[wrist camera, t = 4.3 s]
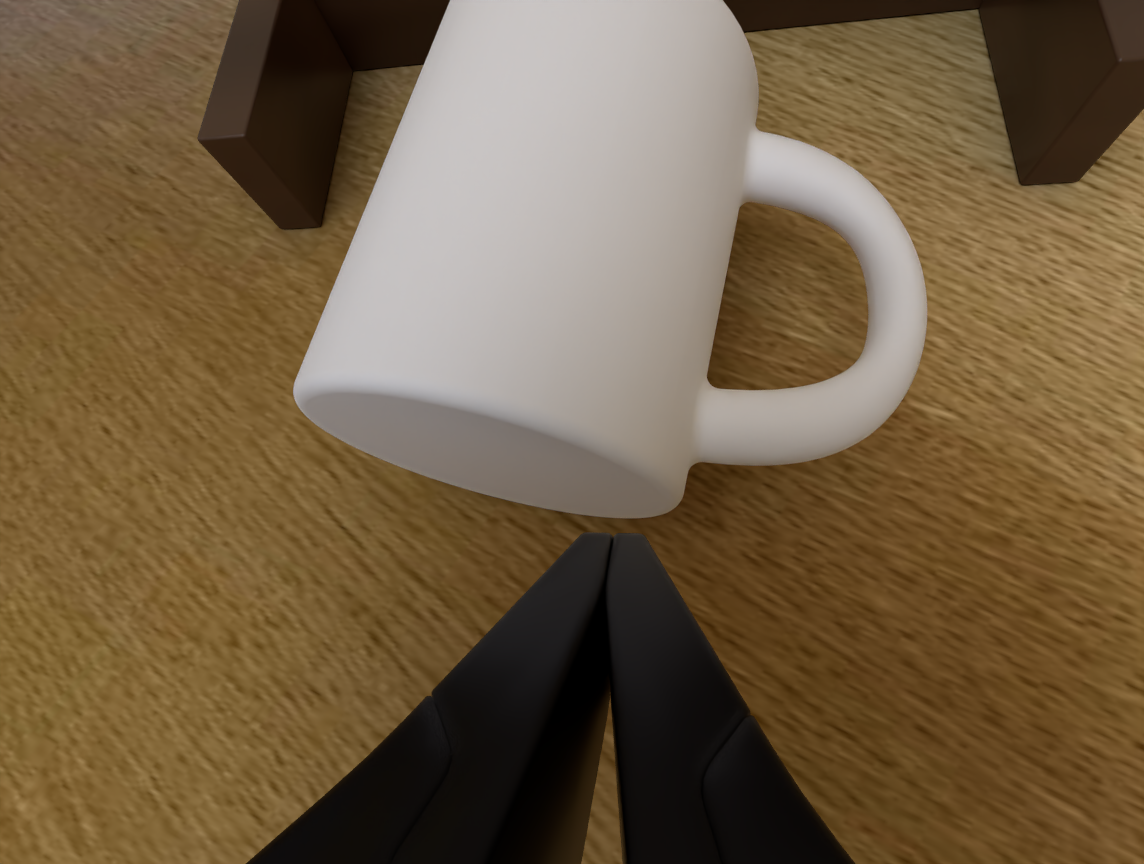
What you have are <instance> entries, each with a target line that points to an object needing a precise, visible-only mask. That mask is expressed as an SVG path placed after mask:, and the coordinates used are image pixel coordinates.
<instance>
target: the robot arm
mask: <svg viewBox="0 0 1144 864" xmlns="http://www.w3.org/2000/svg"><path fill="white" fill-rule="evenodd" d="M610 693H611V710H612V725H613V738H614V752H615V766H616V779H617V793H618V806H619V820H620V834H621V847H622V861H623V864H855V863H854V861H853V860H852V859H851V858H850V856H849V855H848V854H847V852H846V851H845V850H844V848H843V847H842V846H841V845H840V843H839V842H838V841H837V839H836V838H835V837H834V835H833V834H832V832H831V831H830V830H829V828H828V827H827V826H826V824H825V823H824V821H823V820H822V819H821V817H820V816H819V815H818V813H817V812H816V811H815V809H814V808H813V806H812V805H811V804H810V802H809V801H808V800H807V798H806V797H805V796H804V794H803V793H802V791H801V790H800V789H799V787H798V785H797V784H796V782H795V781H794V779H793V778H792V776H791V775H790V773H789V772H788V770H787V769H786V767H785V765H784V764H783V762H782V761H781V759H780V758H779V756H778V755H777V753H776V752H775V750H774V748H773V747H772V745H771V744H770V742H769V740H768V739H767V737H766V735H765V734H764V732H763V730H762V729H761V727H760V725H759V724H758V722H757V720H756V719H755V717H754V716H752V715H750V709H749V708H748V706H747V704H746V703H745V701H744V700H743V698H742V696H741V695H740V693H739V691H738V690H737V688H736V686H735V685H734V683H733V681H732V680H731V678H730V676H729V675H728V673H727V671H726V670H725V668H724V666H723V665H722V663H721V661H720V660H719V658H718V656H717V655H716V653H715V651H714V650H713V648H712V646H711V645H710V643H709V641H708V640H707V638H706V636H705V635H704V633H703V631H702V630H701V628H700V626H699V625H698V623H697V621H696V620H695V618H694V616H693V615H692V613H691V611H690V610H689V608H688V607H687V605H686V603H685V602H684V600H683V598H682V597H681V595H680V593H679V592H678V590H677V588H676V587H675V585H674V583H673V582H672V580H671V578H670V577H669V575H668V573H667V572H666V570H665V568H664V567H663V565H662V563H661V562H660V560H659V558H658V557H657V555H656V553H655V552H654V550H653V548H652V547H651V545H650V543H649V542H648V540H647V538H646V537H645V536H644V535H643V534H637V533H617V534H616V535H614V537H612V535H611V534H610V533H583V534H581V535H580V536H579V537H578V538H577V539H576V540H575V541H574V542H573V544H572V545H571V546H570V547H569V548H568V549H567V550H566V551H565V552H564V553H563V554H562V555H561V556H560V557H559V558H558V559H557V560H556V561H555V562H554V563H553V565H552V566H551V567H550V568H549V569H548V570H547V571H546V572H545V573H544V574H543V575H542V576H541V577H540V578H539V579H538V580H537V581H536V582H535V583H534V584H533V586H532V587H531V588H530V589H529V590H528V591H527V592H526V593H525V594H524V595H523V596H522V597H521V598H520V599H519V600H518V601H517V602H516V603H515V604H514V605H513V607H512V608H511V609H510V610H509V611H508V612H507V613H506V614H505V615H504V616H503V617H502V618H501V619H500V620H499V621H498V622H497V623H496V624H495V625H494V626H493V628H492V629H491V630H490V631H489V632H488V633H487V634H486V635H485V636H484V637H483V638H482V639H481V640H480V641H479V642H478V643H477V644H476V645H475V646H474V647H473V649H472V650H471V651H470V652H469V653H468V654H467V655H466V656H465V657H464V658H463V659H462V660H461V661H460V662H459V663H458V664H457V665H456V666H455V667H454V668H453V670H452V671H451V672H450V673H449V674H448V675H447V676H446V677H445V678H444V679H443V680H442V681H441V682H440V683H439V684H438V685H437V686H436V687H435V688H434V689H433V691H432V696H427V697H426V698H425V699H424V700H423V701H422V702H421V703H420V704H419V705H418V706H417V707H416V708H415V709H414V710H413V711H412V712H411V713H410V714H409V715H408V716H407V717H406V719H405V720H404V721H403V722H401V723H400V724H399V725H398V726H397V727H396V728H395V729H394V730H393V731H392V732H391V733H390V734H389V735H388V736H387V737H386V738H385V739H384V740H383V741H382V742H381V743H380V744H379V745H378V746H377V747H376V748H375V749H374V750H373V751H372V752H371V753H370V754H369V755H368V756H367V757H366V758H365V759H364V760H363V761H362V762H361V763H359V764H358V765H357V766H356V767H355V768H354V769H353V770H352V771H351V772H350V773H348V774H347V775H346V776H345V777H344V778H343V779H342V780H341V781H340V782H339V783H337V784H336V785H335V786H334V787H333V788H332V789H331V790H330V791H329V792H328V793H326V794H325V795H324V796H323V797H322V798H321V799H320V800H318V801H317V802H316V803H315V804H314V805H313V806H312V807H310V808H309V809H308V810H307V811H306V812H305V813H304V814H302V815H301V816H300V817H299V818H298V819H297V820H296V821H294V822H293V823H292V824H291V825H290V826H289V827H287V828H286V829H285V830H284V831H283V832H282V833H281V834H279V835H278V836H277V837H276V838H275V839H274V840H273V841H271V842H270V843H269V844H268V845H267V846H266V847H265V848H263V849H262V850H261V851H260V852H259V853H258V854H256V855H255V856H254V857H253V858H252V859H251V860H250V861H248V862H247V863H246V864H581V861H582V856H583V850H584V844H585V839H586V833H587V828H588V822H589V816H590V811H591V805H592V799H593V794H594V788H595V783H596V777H597V771H598V766H599V760H600V754H601V749H602V743H603V738H604V732H605V726H606V721H607V714H608V708H609V701H610Z"/></svg>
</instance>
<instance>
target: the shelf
mask: <svg viewBox="0 0 1144 864" xmlns="http://www.w3.org/2000/svg"><path fill="white" fill-rule="evenodd" d="M723 1H724V2H725V4H726V5H727V6H728V8H729V9H730V10H731V12H732V13H733V15H734V17H735V18H736V20H737V22H738V23H739V25H740V26H741V28H742V31H743V32H744V31H754V30H764V29H774V28H784V27H794V26H804V25H814V24H824V23H834V22H844V21H854V20H864V19H874V18H884V17H894V16H904V15H914V14H924V13H934V12H945V11H955V10H965V9H975V8H979V11H980V15H981V20H982V24H983V28H984V32H985V36H986V40H987V45H988V49H989V53H990V57H991V61H992V66H993V70H994V74H995V78H996V82H997V86H998V91H999V95H1000V99H1001V103H1002V107H1003V112H1004V116H1005V120H1006V124H1007V128H1008V132H1009V137H1010V141H1011V145H1012V149H1013V153H1014V158H1015V162H1016V166H1017V170H1018V174H1019V178H1020V183H1021V184H1022V185H1029V184H1046V183H1063V182H1076V181H1078V180H1080V178H1081V177H1082V176H1083V175H1084V174H1085V173H1086V172H1087V171H1088V170H1089V169H1090V167H1091V166H1092V165H1093V164H1094V163H1095V162H1096V161H1097V160H1098V159H1099V158H1100V156H1101V155H1102V154H1103V153H1104V152H1105V151H1106V150H1107V149H1108V148H1109V147H1110V145H1111V144H1112V143H1113V142H1114V141H1115V140H1116V139H1117V138H1118V137H1119V135H1120V134H1121V133H1122V132H1123V131H1124V130H1125V129H1126V128H1127V127H1128V126H1129V124H1130V123H1131V122H1132V121H1133V120H1134V119H1135V118H1136V117H1137V116H1138V115H1139V113H1140V112H1141V111H1142V110H1143V109H1144V0H723ZM449 2H450V0H239V3H238V6H237V9H236V12H235V16H234V19H233V22H232V26H231V29H230V32H229V36H228V39H227V42H226V45H225V49H224V52H223V55H222V59H221V62H220V65H219V69H218V72H217V75H216V79H215V82H214V85H213V88H212V92H211V95H210V98H209V102H208V105H207V108H206V112H205V115H204V118H203V122H202V125H201V128H200V131H199V135H198V141H199V142H200V143H201V144H202V145H203V146H204V147H205V149H206V150H207V151H208V152H209V153H210V154H211V155H212V156H213V157H214V158H215V159H216V160H217V161H218V162H219V164H220V165H221V166H222V167H223V168H224V169H225V170H226V171H227V172H228V173H229V174H230V175H231V176H232V177H233V179H234V180H235V181H236V182H237V183H238V184H239V185H240V186H241V187H242V188H243V189H244V190H245V191H246V192H247V194H248V195H249V196H250V197H251V198H252V199H253V200H254V201H255V202H256V203H257V204H258V205H259V206H260V208H261V209H262V210H263V211H264V212H265V213H266V214H267V215H268V216H269V217H270V218H271V219H272V220H273V221H274V223H275V224H276V225H277V226H278V227H279V228H280V229H293V228H310V227H320V225H321V221H322V216H323V211H324V206H325V201H326V197H327V192H328V187H329V182H330V177H331V173H332V168H333V163H334V158H335V153H336V149H337V144H338V139H339V134H340V129H341V125H342V120H343V115H344V110H345V106H346V101H347V96H348V91H349V86H350V82H351V77H352V71H354V70H364V69H374V68H384V67H394V66H404V65H414V64H424V63H425V61H426V58H427V56H428V53H429V51H430V48H431V46H432V43H433V41H434V38H435V36H436V34H437V31H438V29H439V26H440V24H441V21H442V19H443V16H444V14H445V11H446V9H447V6H448V4H449Z"/></svg>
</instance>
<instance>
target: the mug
mask: <svg viewBox="0 0 1144 864" xmlns="http://www.w3.org/2000/svg"><path fill="white" fill-rule="evenodd" d="M758 103H759V87H758V78H757V71H756V67H755V62H754V58H753V55H752V52H751V49H750V46H749V44H748V41H747V39H746V37H745V35H744V33H743V31H742V28H741V26H740V25H739V23H738V22H737V20H736V18H735V17H734V15H733V13H732V12H731V10H730V9H729V8H728V6H727V5H726V4H725V2H724V1H723V0H450V2H449V4H448V6H447V9H446V11H445V14H444V16H443V19H442V21H441V24H440V26H439V29H438V31H437V34H436V36H435V38H434V41H433V43H432V46H431V48H430V51H429V53H428V56H427V58H426V61H425V63H424V66H423V68H422V70H421V73H420V75H419V78H418V80H417V83H416V85H415V88H414V90H413V93H412V95H411V97H410V100H409V102H408V105H407V107H406V110H405V112H404V115H403V117H402V120H401V122H400V125H399V127H398V129H397V132H396V134H395V137H394V139H393V142H392V144H391V147H390V149H389V152H388V154H387V157H386V159H385V161H384V164H383V166H382V169H381V171H380V174H379V176H378V179H377V181H376V184H375V186H374V188H373V191H372V193H371V196H370V198H369V201H368V203H367V206H366V208H365V211H364V213H363V216H362V218H361V220H360V223H359V225H358V228H357V230H356V233H355V235H354V238H353V240H352V243H351V245H350V247H349V250H348V252H347V255H346V257H345V260H344V262H343V265H342V267H341V270H340V272H339V275H338V277H337V279H336V282H335V284H334V287H333V289H332V292H331V294H330V297H329V299H328V302H327V304H326V307H325V309H324V311H323V314H322V316H321V319H320V321H319V324H318V326H317V329H316V331H315V334H314V336H313V338H312V341H311V343H310V346H309V348H308V351H307V353H306V356H305V358H304V361H303V363H302V366H301V368H300V370H299V373H298V375H297V378H296V380H295V383H294V388H293V394H294V398H295V402H296V403H297V405H298V407H299V409H300V410H301V411H302V412H303V413H304V414H305V416H307V417H308V418H309V419H310V420H311V421H312V422H313V423H315V424H316V425H317V426H319V427H320V428H322V429H323V430H325V431H326V432H328V433H329V434H331V435H333V436H334V437H336V438H338V439H340V440H342V441H343V442H345V443H347V444H349V445H351V446H353V447H355V448H357V449H359V450H361V451H363V452H366V453H368V454H370V455H372V456H375V457H377V458H379V459H382V460H384V461H386V462H389V463H391V464H394V465H396V466H399V467H402V468H404V469H407V470H410V471H412V472H415V473H418V474H421V475H423V476H426V477H429V478H432V479H435V480H438V481H441V482H444V483H448V484H451V485H454V486H457V487H461V488H464V489H467V490H471V491H474V492H478V493H481V494H485V495H489V496H493V497H496V498H500V499H504V500H508V501H513V502H517V503H521V504H526V505H530V506H535V507H540V508H545V509H550V510H555V511H561V512H567V513H573V514H580V515H588V516H596V517H607V518H648V517H654V516H659V515H662V514H665V513H667V512H670V511H671V510H673V509H674V508H675V507H677V506H678V504H679V503H680V502H681V500H682V498H683V495H684V490H685V485H686V480H687V475H688V471H689V469H690V467H691V466H692V465H694V464H696V463H698V462H708V463H717V464H729V465H749V466H769V465H784V464H793V463H800V462H806V461H811V460H815V459H819V458H823V457H826V456H829V455H832V454H835V453H838V452H840V451H842V450H845V449H847V448H849V447H851V446H853V445H855V444H856V443H858V442H860V441H862V440H863V439H865V438H866V437H867V436H869V435H870V434H872V433H873V432H874V431H875V430H876V429H878V428H879V427H880V426H881V425H882V424H883V423H884V422H885V421H886V420H887V419H888V418H889V417H890V416H891V414H892V413H893V412H894V411H895V409H896V408H897V407H898V405H899V404H900V402H901V401H902V399H903V398H904V396H905V395H906V393H907V391H908V389H909V387H910V385H911V383H912V381H913V379H914V376H915V374H916V372H917V369H918V366H919V363H920V359H921V355H922V352H923V348H924V342H925V336H926V327H927V297H926V288H925V282H924V276H923V272H922V268H921V264H920V261H919V258H918V255H917V252H916V250H915V247H914V245H913V243H912V240H911V238H910V236H909V234H908V232H907V230H906V229H905V227H904V225H903V223H902V222H901V220H900V218H899V217H898V215H897V214H896V212H895V211H894V209H893V208H892V207H891V205H890V204H889V203H888V201H887V200H886V199H885V198H884V196H883V195H882V194H881V193H880V192H879V191H878V190H877V189H876V188H875V187H874V186H873V185H872V184H871V183H870V182H869V181H868V180H867V179H866V178H865V177H864V176H862V175H861V174H860V173H859V172H857V171H856V170H855V169H854V168H852V167H851V166H849V165H848V164H846V163H845V162H843V161H842V160H840V159H838V158H836V157H835V156H833V155H831V154H829V153H827V152H825V151H823V150H821V149H819V148H816V147H814V146H811V145H809V144H806V143H804V142H801V141H797V140H794V139H790V138H787V137H784V136H780V135H775V134H770V133H766V132H762V131H760V130H758V129H757V128H756V126H755V124H756V118H757V112H758ZM747 202H754V203H760V204H765V205H770V206H775V207H779V208H783V209H787V210H790V211H794V212H797V213H800V214H803V215H806V216H808V217H811V218H813V219H816V220H818V221H820V222H822V223H823V224H825V225H827V226H829V227H830V228H832V229H833V230H835V231H836V232H837V233H838V234H840V235H841V236H842V237H843V238H844V239H845V240H846V242H847V243H848V244H849V245H850V247H851V248H852V249H853V251H854V253H855V254H856V256H857V258H858V261H859V263H860V265H861V268H862V271H863V275H864V279H865V284H866V290H867V298H868V330H867V337H866V342H865V346H864V349H863V352H862V354H861V356H860V357H859V359H858V360H857V361H856V363H855V364H854V365H852V366H851V367H850V368H849V369H847V370H846V371H844V372H843V373H841V374H839V375H837V376H835V377H833V378H830V379H828V380H825V381H822V382H819V383H815V384H811V385H806V386H802V387H796V388H787V389H777V390H731V389H719V388H715V387H713V386H712V385H711V384H710V383H709V382H708V380H707V372H708V366H709V361H710V356H711V351H712V346H713V341H714V335H715V330H716V325H717V320H718V315H719V310H720V304H721V299H722V294H723V289H724V284H725V279H726V274H727V268H728V263H729V258H730V253H731V248H732V243H733V237H734V232H735V227H736V222H737V217H738V212H739V208H740V207H741V206H742V205H743V204H744V203H747Z"/></svg>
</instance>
